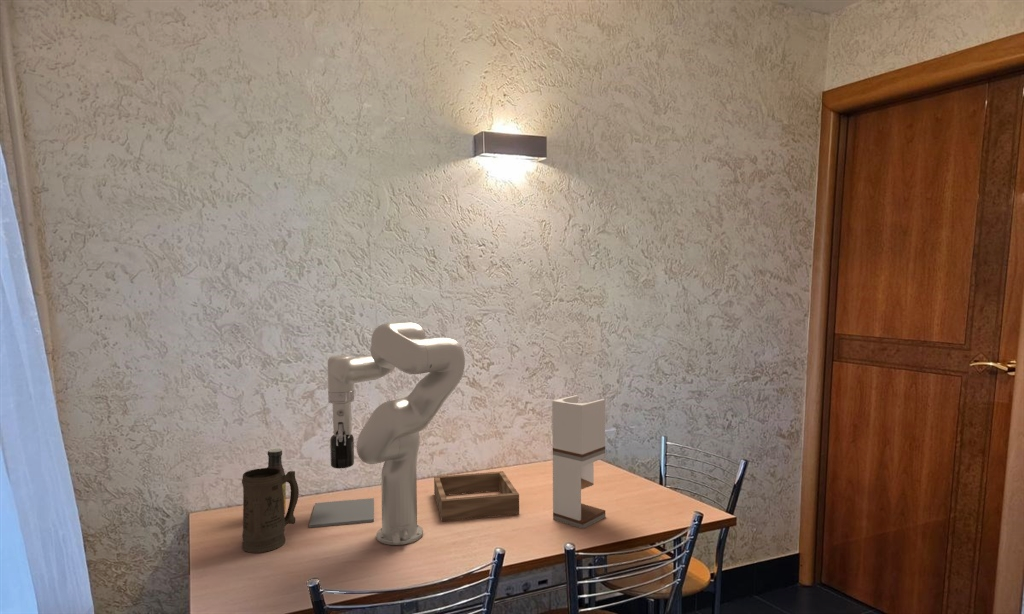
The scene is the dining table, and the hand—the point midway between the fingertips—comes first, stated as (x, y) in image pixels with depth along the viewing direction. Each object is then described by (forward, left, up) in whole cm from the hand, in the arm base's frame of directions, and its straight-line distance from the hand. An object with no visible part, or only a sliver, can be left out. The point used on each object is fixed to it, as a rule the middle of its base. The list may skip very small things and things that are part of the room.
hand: (342, 454), depth 182 cm
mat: (0, 0, -18) cm, 18 cm away
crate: (-2, -40, -18) cm, 44 cm away
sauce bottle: (+3, +20, -18) cm, 27 cm away
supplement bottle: (0, 0, -3) cm, 3 cm away
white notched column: (-21, -68, -18) cm, 74 cm away
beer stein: (-16, +18, -18) cm, 30 cm away
